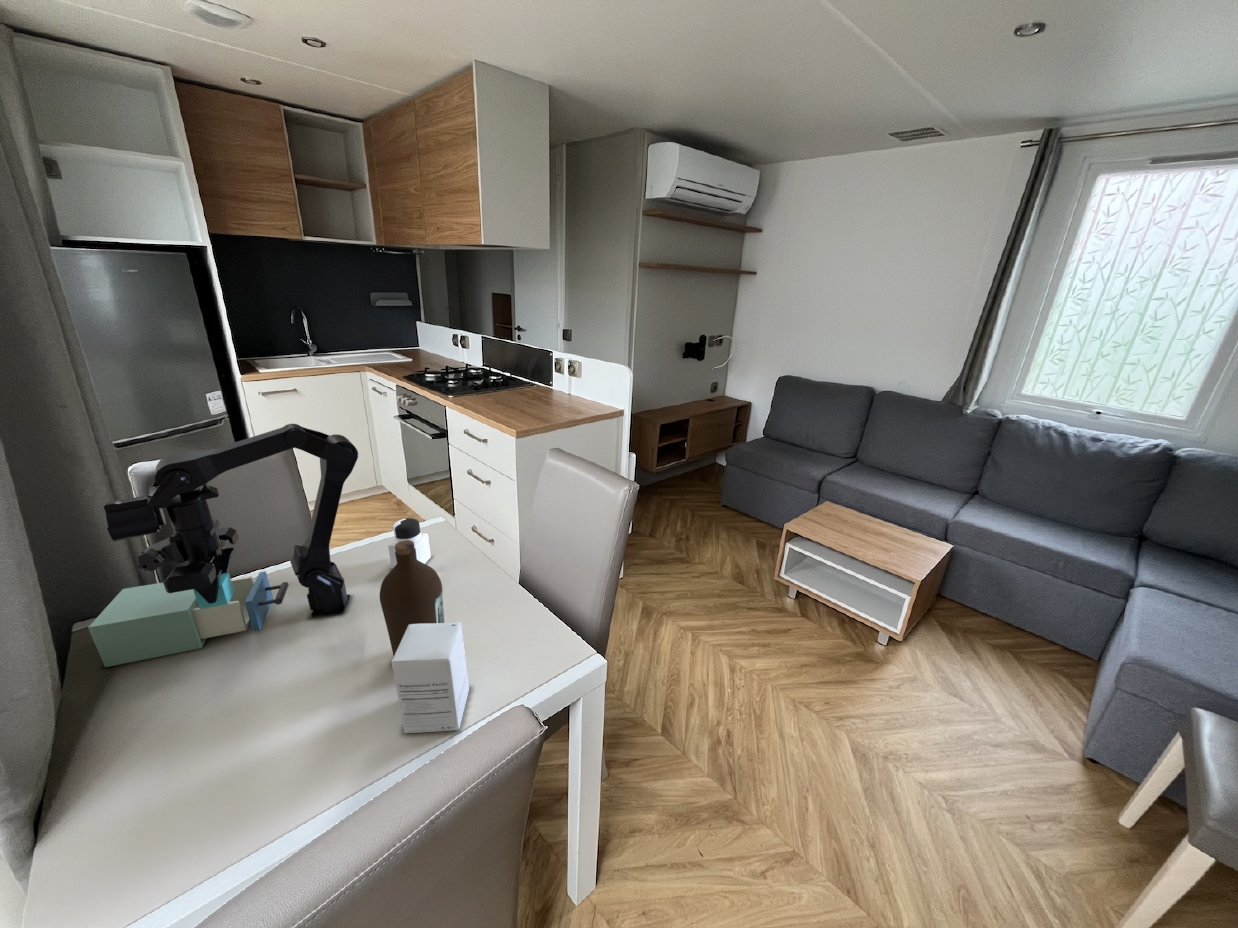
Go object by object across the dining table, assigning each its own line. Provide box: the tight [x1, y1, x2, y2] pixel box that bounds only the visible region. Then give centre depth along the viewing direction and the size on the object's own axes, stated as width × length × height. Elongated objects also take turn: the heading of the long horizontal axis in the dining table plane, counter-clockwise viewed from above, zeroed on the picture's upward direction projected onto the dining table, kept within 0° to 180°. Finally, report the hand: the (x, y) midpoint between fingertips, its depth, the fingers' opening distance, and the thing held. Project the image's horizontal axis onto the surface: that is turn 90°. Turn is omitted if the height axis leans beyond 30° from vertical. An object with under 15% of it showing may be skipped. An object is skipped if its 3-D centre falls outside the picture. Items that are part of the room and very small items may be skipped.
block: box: [193, 572, 234, 609], centre depth 94 cm, size 4×4×4 cm
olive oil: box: [379, 540, 445, 658], centre depth 91 cm, size 11×11×25 cm
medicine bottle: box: [387, 517, 432, 570], centre depth 125 cm, size 7×7×12 cm
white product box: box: [391, 621, 470, 734], centre depth 81 cm, size 9×9×15 cm
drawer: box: [191, 570, 290, 639], centre depth 102 cm, size 18×11×7 cm, turn 112°
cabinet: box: [87, 582, 208, 668], centre depth 98 cm, size 15×13×9 cm
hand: (216, 595), depth 95 cm, fingers closed on block, 4 cm apart
